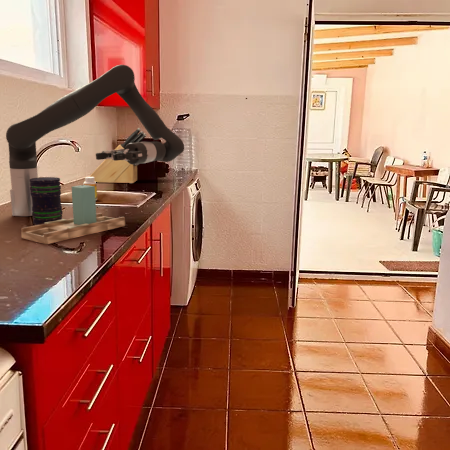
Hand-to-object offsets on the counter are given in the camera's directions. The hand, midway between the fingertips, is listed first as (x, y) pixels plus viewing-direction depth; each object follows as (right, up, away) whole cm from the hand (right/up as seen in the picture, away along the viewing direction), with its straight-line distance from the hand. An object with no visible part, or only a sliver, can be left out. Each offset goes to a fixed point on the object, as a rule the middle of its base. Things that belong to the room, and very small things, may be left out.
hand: (105, 156), depth 152 cm
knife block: (-21, +2, +116) cm, 118 cm away
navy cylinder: (-22, -22, +8) cm, 32 cm away
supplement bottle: (-20, -12, +53) cm, 58 cm away
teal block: (-6, -22, -3) cm, 23 cm away
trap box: (-8, -24, -6) cm, 26 cm away
